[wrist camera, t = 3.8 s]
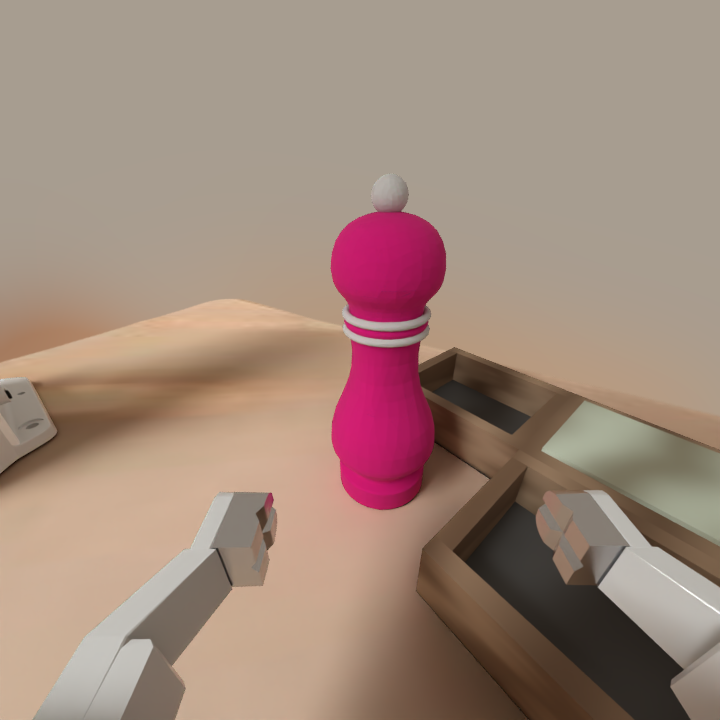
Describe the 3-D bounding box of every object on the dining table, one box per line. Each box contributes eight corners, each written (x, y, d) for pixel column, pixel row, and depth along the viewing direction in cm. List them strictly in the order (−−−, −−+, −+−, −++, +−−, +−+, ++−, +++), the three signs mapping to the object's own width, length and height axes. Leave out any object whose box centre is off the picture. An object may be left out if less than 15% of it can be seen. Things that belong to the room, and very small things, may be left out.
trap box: (303, 462, 25) (297, 421, 23) (449, 377, 36) (454, 344, 34) (744, 964, 9) (863, 979, 6) (760, 524, 20) (806, 478, 18)
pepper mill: (351, 532, 20) (336, 166, 10) (324, 453, 26) (299, 177, 16) (447, 498, 22) (510, 168, 12) (402, 433, 28) (420, 178, 18)
